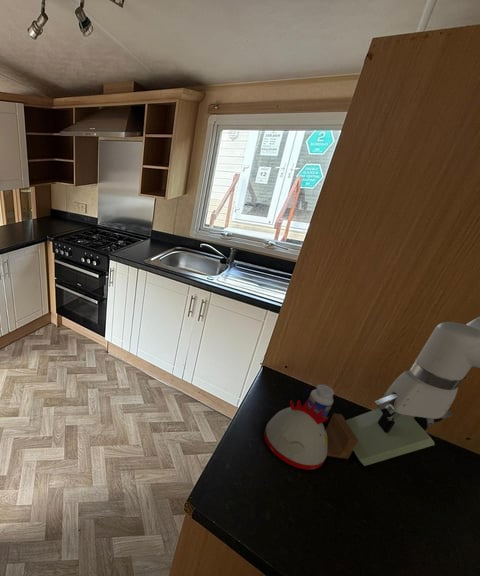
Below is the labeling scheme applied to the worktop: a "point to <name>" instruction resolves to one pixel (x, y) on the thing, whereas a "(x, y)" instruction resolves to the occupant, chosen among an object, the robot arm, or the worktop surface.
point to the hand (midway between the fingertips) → (398, 429)
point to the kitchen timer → (298, 436)
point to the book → (386, 437)
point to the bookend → (340, 438)
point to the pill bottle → (321, 399)
